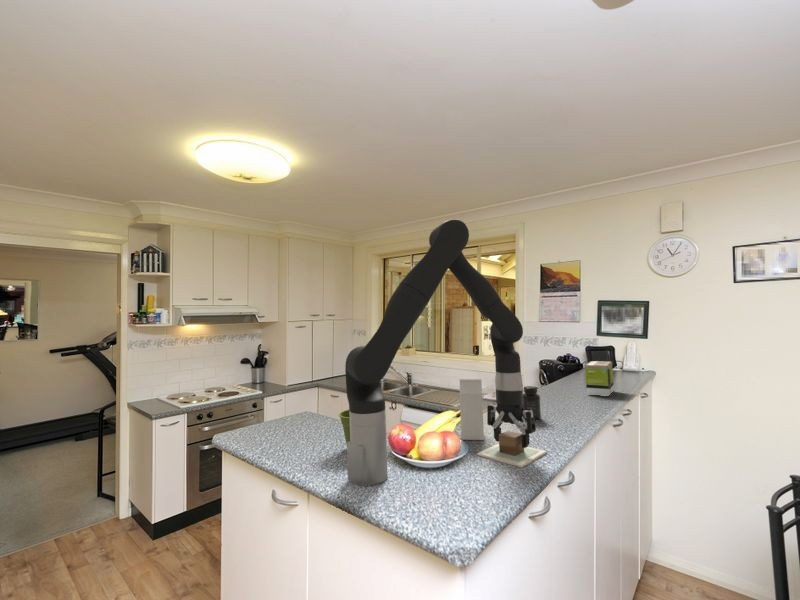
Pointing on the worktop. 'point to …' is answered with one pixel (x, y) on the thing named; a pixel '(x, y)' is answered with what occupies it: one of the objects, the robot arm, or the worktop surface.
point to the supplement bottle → (532, 401)
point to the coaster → (517, 460)
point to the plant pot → (345, 423)
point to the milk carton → (471, 409)
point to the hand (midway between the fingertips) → (511, 444)
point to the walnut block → (510, 443)
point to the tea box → (599, 377)
